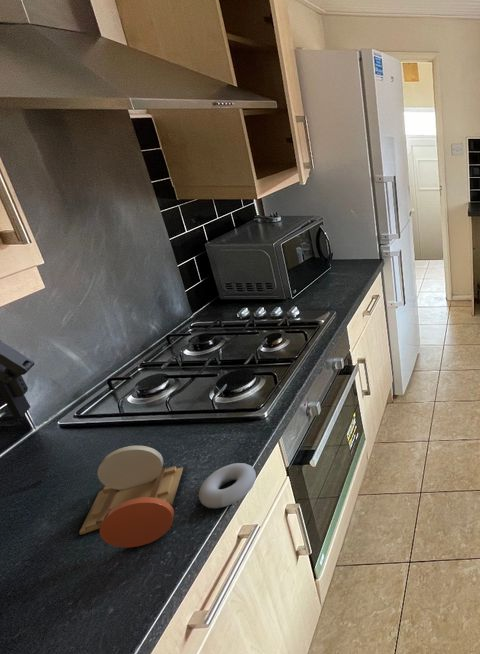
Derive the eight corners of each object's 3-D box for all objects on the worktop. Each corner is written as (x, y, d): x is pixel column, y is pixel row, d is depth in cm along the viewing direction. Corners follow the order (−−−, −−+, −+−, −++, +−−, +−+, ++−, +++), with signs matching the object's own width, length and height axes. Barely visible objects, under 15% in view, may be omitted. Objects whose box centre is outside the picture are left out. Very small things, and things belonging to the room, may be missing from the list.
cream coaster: (107, 497, 84) (89, 459, 80) (109, 492, 85) (91, 455, 81) (168, 479, 88) (153, 443, 85) (169, 475, 89) (155, 439, 86)
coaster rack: (80, 534, 77) (76, 528, 77) (100, 493, 86) (97, 486, 85) (172, 505, 83) (169, 499, 83) (183, 468, 92) (180, 462, 91)
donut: (252, 463, 93) (198, 487, 87) (249, 452, 92) (194, 475, 86) (262, 493, 86) (203, 522, 80) (258, 481, 85) (199, 509, 79)
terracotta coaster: (98, 553, 73) (100, 507, 70) (100, 546, 74) (103, 501, 71) (170, 541, 78) (175, 498, 75) (172, 535, 79) (176, 493, 76)
